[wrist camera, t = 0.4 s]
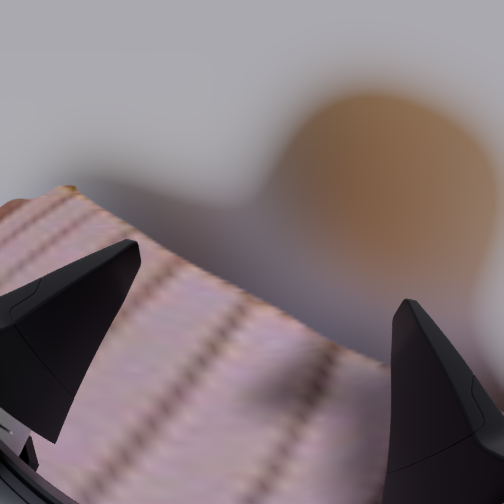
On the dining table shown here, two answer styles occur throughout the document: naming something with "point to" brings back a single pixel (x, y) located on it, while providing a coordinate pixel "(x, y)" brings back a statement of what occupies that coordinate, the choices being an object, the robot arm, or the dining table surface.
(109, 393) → the dining table surface
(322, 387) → the dining table surface
